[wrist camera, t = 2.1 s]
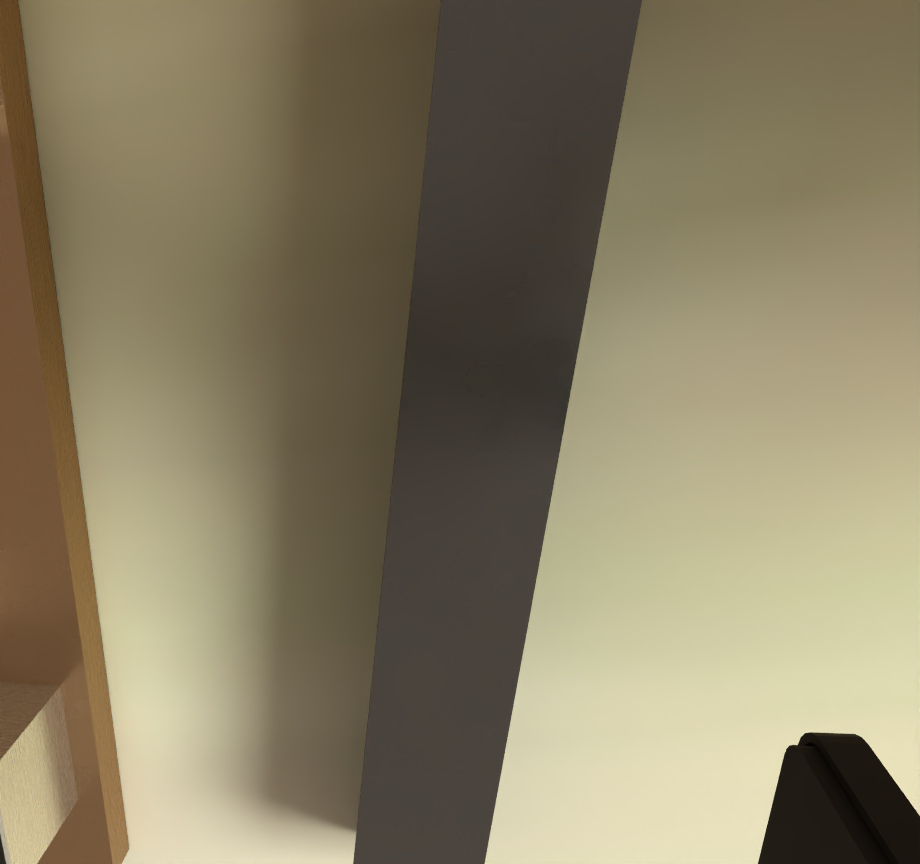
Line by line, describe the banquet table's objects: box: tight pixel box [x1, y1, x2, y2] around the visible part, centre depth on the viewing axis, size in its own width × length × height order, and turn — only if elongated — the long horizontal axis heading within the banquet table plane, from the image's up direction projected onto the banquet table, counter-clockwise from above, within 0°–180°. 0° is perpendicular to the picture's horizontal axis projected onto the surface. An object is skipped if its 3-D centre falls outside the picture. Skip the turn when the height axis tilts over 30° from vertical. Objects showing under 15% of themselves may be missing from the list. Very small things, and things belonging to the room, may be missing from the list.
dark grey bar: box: [353, 0, 642, 864], centre depth 17 cm, size 3×26×5 cm, turn 173°
